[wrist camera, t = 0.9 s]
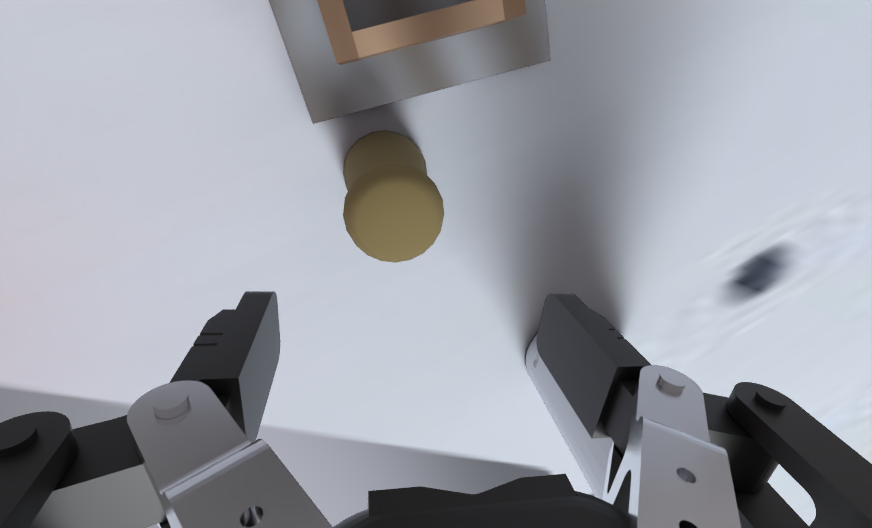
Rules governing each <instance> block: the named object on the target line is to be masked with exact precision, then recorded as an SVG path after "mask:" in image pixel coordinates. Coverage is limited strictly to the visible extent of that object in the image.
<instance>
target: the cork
mask: <svg viewBox="0 0 872 528" xmlns="http://www.w3.org/2000/svg"><path fill="white" fill-rule="evenodd" d="M343 174H344V179H345V183H346V187H347V190H348V193H347V195H346V197H345V203H344V212H343V217H344V221H345V225H346V230H347V232H348V233H349V235H350V236H351V238H352V240H353V241H354V243H355V244H356V246H357V247H359V248H360V249H361V250H362V251H363V252H365V253H366V254H367V255H369V256H371V257H373V258H376V259H378V260H380V261H388V262H401V261H406V260H411V259H413V258H415V257H417V256H419V255H421V254H423V253H424V252H425V251H426V250H427V249H428V248H429V247H430V246H431V245H433V244H434V242H435V240H436V238H437V237H438V235H439V233H440V231H441V227H442V222H443V217H444V209H443V200H442V197H441V195H440V193H439V191H438V189H437V187H436V185H435V183H434V182H433V181H432V180H431V179H430V178H429V177H428V176H427V170H426V163H425V159H424V157H423V155H422V153H421V151H420V149H419V148H418V147H417V146H416V145H415V144H414V143H413V142H412V141H411V139H409V138H407V137H405V136H403V135H401V134H400V133H396V132H390V131H379V132H372V133H370V134H368V135H366V136H364V137H362V138H360V139H359V140H358V141H357V142H356V143H355V144H354V145H353V146H352V147H351V148H350V150H349V153H348V155H347V157H346V159H345V163H344V173H343Z"/></svg>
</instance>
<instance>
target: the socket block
mask: <svg viewBox="0 0 872 528" xmlns="http://www.w3.org/2000/svg"><path fill="white" fill-rule="evenodd" d="M269 2H270V5H271V8H272V11H273V13H274V16H275V19H276V22H277V25H278V27H279V30H280V33H281V36H282V39H283V41H284V44H285V47H286V50H287V53H288V55H289V58H290V61H291V64H292V67H293V69H294V72H295V75H296V78H297V81H298V83H299V86H300V89H301V92H302V94H303V97H304V100H305V103H306V106H307V108H308V111H309V114H310V117H311V120H312V122H313V124H314V123H318V122H321V121H325V120H329V119H333V118H336V117H340V116H344V115H347V114H351V113H355V112H359V111H362V110H366V109H370V108H374V107H377V106H381V105H385V104H389V103H392V102H396V101H400V100H403V99H407V98H411V97H415V96H418V95H422V94H426V93H430V92H433V91H437V90H441V89H445V88H448V87H452V86H456V85H460V84H463V83H467V82H471V81H474V80H478V79H482V78H486V77H489V76H493V75H497V74H501V73H504V72H508V71H512V70H516V69H519V68H523V67H527V66H530V65H534V64H538V63H542V62H545V61H549V60H550V49H549V39H548V28H547V17H546V6H545V0H269Z"/></svg>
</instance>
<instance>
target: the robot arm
mask: <svg viewBox="0 0 872 528" xmlns="http://www.w3.org/2000/svg"><path fill="white" fill-rule="evenodd" d="M279 354H280V332H279V319H278V305H277V296H276V293H275V292H245V293H244V295H243V297H242V299H241V300H240V302H239V304H238V306H237V308H236V310H222V311H221V312H219V313H218V314H216V315H215V316H214V317H212V318H211V319H209V320H208V321H207V323H206V325H205V326H204V328H203V329H202V331H201V333H200V336H198V337H197V339H196V341H195V342H194V346H193V347H191V349H190V350H189V352H188V354H187V355H186V357H185V359H184V360H183V362H182V363H181V365H180V367H179V368H178V370H177V371H176V373H175V375H174V376H173V378H172V380H171V381H170V383H168V384H165V385H162V386H159V387H157V388H155V389H153V390H151V391H149V392H147V393H146V394H144V395H143V396H141V397H140V398H139V399H138V400H137V401H136V402H135V403H134V404H133V405H132V406H131V408H130V409H129V411H128V414H127V415H125V416H123V417H119V418H116V419H112V420H108V421H104V422H101V423H96V424H93V425H88V426H84V427H80V428H76V429H72V427H71V424H70V421H69V419H68V418H67V417H66V416H65V415H63V414H60V413H57V412H36V413H30V414H25V415H22V416H18V417H15V418H12V419H9V420H6V421H4V422H2V423H0V528H146V527H149V526H152V525H154V524H157V525H158V527H159V528H872V464H871V463H870V462H868V461H867V460H866V459H865V458H863V457H862V456H861V455H860V454H858V453H857V452H856V451H855V450H853V449H852V448H851V447H850V446H848V445H847V444H846V443H845V442H843V441H842V440H841V439H840V438H838V437H837V436H836V435H835V434H833V433H832V432H831V431H830V430H828V429H827V428H826V427H825V426H823V425H822V424H821V423H820V422H819V421H817V420H816V419H815V418H814V417H812V416H811V415H810V414H809V413H807V412H806V411H805V410H804V409H802V408H801V407H800V406H799V405H797V404H796V403H795V402H794V401H792V400H791V399H790V398H788V397H786V396H785V395H783V394H781V393H780V392H778V391H776V390H773V389H771V388H769V387H766V386H763V385H760V384H756V383H751V382H741V383H738V384H736V385H735V387H734V389H733V391H732V393H731V395H730V397H729V398H728V397H723V396H717V395H712V394H707V393H703V392H702V390H701V389H700V387H699V386H698V385H697V384H696V383H695V382H694V381H693V380H692V379H690V378H689V377H687V376H686V375H684V374H682V373H680V372H678V371H676V370H674V369H671V368H668V367H664V366H658V365H651V364H650V363H649V362H648V361H647V360H646V359H645V358H644V357H643V356H642V355H641V354H640V353H639V352H638V351H637V350H636V349H635V348H634V347H633V346H632V345H631V344H630V343H629V342H628V341H627V340H626V339H624V337H623V336H622V335H621V334H620V333H619V332H618V331H616V330H615V328H614V327H613V326H612V325H611V324H610V323H609V322H608V321H607V320H606V319H605V318H604V317H602V316H600V315H599V314H597V313H595V312H594V311H592V310H590V309H589V308H588V307H587V306H586V305H585V304H584V303H583V302H582V301H581V300H580V299H579V298H578V297H577V296H576V295H574V294H549V295H548V296H547V298H546V300H545V304H544V308H543V312H542V316H541V320H540V325H539V329H538V333H537V335H536V336H535V337H534V339H533V340H532V342H531V343H530V346H529V348H528V350H527V354H526V368H527V371H528V374H529V376H530V378H531V379H532V381H533V383H534V385H535V387H536V389H537V390H538V392H539V394H540V396H541V398H542V400H543V401H544V404H545V405H546V407H547V409H548V411H549V413H550V415H551V416H552V418H553V420H554V422H555V424H556V425H557V427H558V429H559V431H560V433H561V435H562V436H563V438H564V440H565V442H566V444H567V445H568V447H569V449H570V451H571V453H572V455H573V456H574V458H575V460H576V462H577V464H578V465H579V467H580V469H581V471H582V473H583V475H584V476H585V478H586V480H587V482H588V484H589V485H590V487H591V489H592V491H593V493H594V495H595V496H596V497H594V496H592V495H588V494H585V493H581V492H577V491H574V489H573V487H572V485H571V483H570V481H569V479H568V478H567V476H566V474H558V475H547V476H536V477H524V478H519V479H516V480H514V481H511V482H508V483H506V484H503V485H500V486H498V487H495V488H493V489H490V490H488V491H485V492H482V493H479V494H465V493H459V492H452V491H446V490H440V489H433V488H427V487H410V488H399V489H387V490H376V491H369V492H368V509H367V510H364V511H362V512H359V513H357V514H355V515H353V516H351V517H349V518H347V519H345V520H343V521H342V522H340V523H339V524H338V525H336V526H334V527H332V526H331V524H330V523H329V522H328V521H327V519H326V518H325V517H324V515H323V514H322V513H321V512H320V510H319V509H318V508H317V507H316V505H315V504H314V503H313V501H312V500H311V499H310V497H309V496H308V495H307V494H306V492H305V491H304V490H303V488H302V487H301V486H300V485H299V483H298V482H297V481H296V479H295V478H294V477H293V476H292V474H291V473H290V472H289V471H288V469H287V468H286V467H285V465H284V464H283V463H282V462H281V460H280V459H279V458H278V456H277V455H276V454H275V453H274V451H273V450H272V449H271V447H270V446H269V445H268V444H267V443H266V442H265V441H264V440H262V439H258V440H256V437H257V434H258V430H259V427H260V423H261V420H262V416H263V413H264V409H265V406H266V402H267V399H268V395H269V392H270V388H271V385H272V381H273V378H274V375H275V371H276V368H277V364H278V360H279ZM778 464H780V465H781V466H782V467H783V468H784V469H785V470H786V471H787V472H788V473H789V474H790V475H791V476H792V477H793V478H794V479H795V480H796V481H797V482H798V483H799V484H800V485H801V486H802V487H803V488H804V489H805V490H806V491H807V492H808V494H809V495H810V496H811V498H812V500H813V502H814V504H815V507H816V517H815V519H814V521H813V522H812V524H811V525H810V526H808V525H807V524H806V523H805V522H804V521H803V520H802V519H801V518H800V517H799V515H798V514H797V513H796V512H795V511H794V510H793V509H792V508H791V507H790V506H789V505H788V504H787V503H786V502H785V500H784V499H783V498H782V497H781V496H780V495H779V494H778V493H777V492H776V491H775V490H774V489H773V488H772V487H771V485H770V484H769V483H768V482H767V481H768V480H769V478H770V477H771V475H772V473H773V472H774V470H775V469H776V467H777V466H778Z"/></svg>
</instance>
